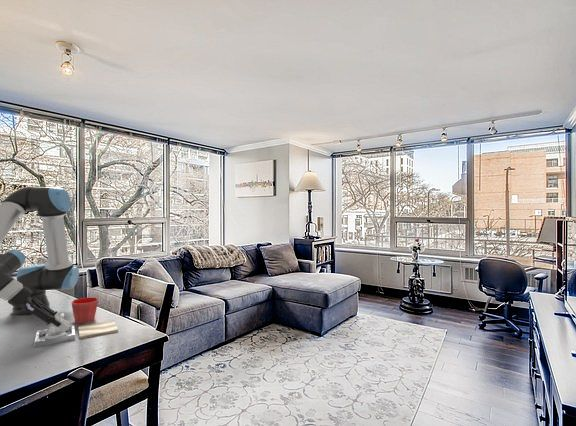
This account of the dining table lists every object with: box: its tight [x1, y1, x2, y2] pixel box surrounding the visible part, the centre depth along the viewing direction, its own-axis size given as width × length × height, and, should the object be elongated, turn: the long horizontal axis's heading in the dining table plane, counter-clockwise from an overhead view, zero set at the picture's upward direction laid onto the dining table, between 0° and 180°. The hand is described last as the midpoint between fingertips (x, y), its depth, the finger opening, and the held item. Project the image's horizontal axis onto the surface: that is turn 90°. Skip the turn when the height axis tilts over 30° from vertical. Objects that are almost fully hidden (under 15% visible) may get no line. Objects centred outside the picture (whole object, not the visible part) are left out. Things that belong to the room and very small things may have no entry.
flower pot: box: [71, 297, 99, 324], centre depth 152 cm, size 11×11×10 cm
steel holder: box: [33, 324, 76, 347], centre depth 131 cm, size 13×13×2 cm
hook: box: [43, 312, 68, 339], centre depth 131 cm, size 8×12×7 cm
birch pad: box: [77, 320, 119, 340], centre depth 140 cm, size 14×14×1 cm
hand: (66, 327), depth 133 cm, fingers closed on hook, 4 cm apart
